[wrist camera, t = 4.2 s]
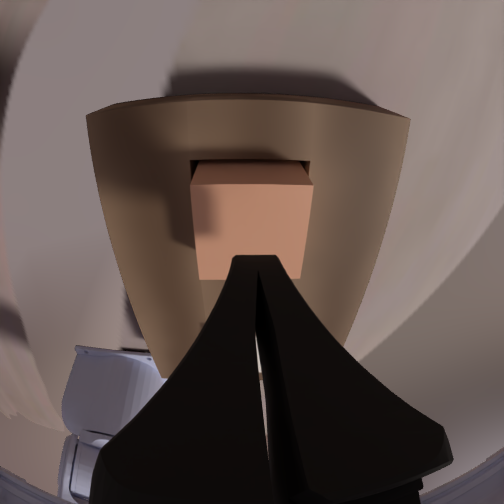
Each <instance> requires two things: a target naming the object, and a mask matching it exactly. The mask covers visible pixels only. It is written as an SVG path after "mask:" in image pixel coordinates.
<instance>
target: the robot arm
mask: <svg viewBox="0 0 504 504" xmlns="http://www.w3.org/2000/svg"><path fill="white" fill-rule="evenodd" d="M255 333H256V336H255ZM256 340H257V346H258V353H259V359H260V365H261V371H262V378H263V384H264V391H265V399H266V415H267V433H268V452H267V445H266V436H265V427H264V418H263V409H262V400H261V390H260V380H259V370H258V359H257V348H256ZM75 351H76V352H77V356H76V359H75V362H74V364H73V367H72V370H71V373H70V376H69V379H68V382H67V385H66V389H65V392H64V395H63V399H62V418H63V421H64V424H65V426H66V427H67V429H68V430H69V431H70V432H71V433H72V434H71V435H69V436H67V437H66V439H65V442H64V446H63V451H62V456H61V461H60V466H59V474H58V485H59V487H58V496H55V495H52V494H50V493H48V492H45V491H43V490H41V489H39V488H37V487H35V486H33V485H31V484H29V483H27V482H26V480H25V479H23V478H21V477H19V476H17V475H15V474H14V473H12V472H10V471H8V470H6V469H5V468H3V467H1V466H0V504H504V447H503V448H502V449H500V450H499V451H497V452H496V453H494V454H493V455H491V456H490V457H488V458H487V459H486V461H485V462H483V463H481V464H480V465H478V466H477V467H475V468H473V469H471V470H470V471H468V472H466V473H464V474H463V475H461V476H459V477H457V478H455V479H453V480H451V481H450V482H448V483H445V484H443V485H441V486H439V487H437V488H435V489H433V490H431V491H429V492H426V493H424V494H422V495H419V492H418V491H419V490H421V489H423V482H422V477H424V476H427V475H429V474H431V473H433V472H436V471H438V470H440V469H442V468H444V467H446V466H448V465H450V464H451V463H452V462H453V455H452V451H451V448H450V444H449V441H448V438H447V435H446V433H445V430H444V428H443V426H441V425H440V424H438V423H437V422H435V421H433V420H432V419H430V418H428V417H427V416H425V415H424V414H422V413H421V412H419V411H418V410H416V409H414V408H413V407H411V406H410V405H409V404H407V403H406V402H404V401H403V400H402V399H401V398H399V397H398V396H397V395H395V394H394V393H393V392H391V391H390V390H389V389H388V388H387V387H386V386H384V385H383V384H382V383H381V382H380V381H378V380H377V379H376V378H375V377H374V376H373V375H372V374H370V373H369V372H368V371H367V370H366V369H365V368H363V366H361V365H360V364H359V363H358V362H357V361H356V360H355V359H354V358H353V357H352V356H351V355H350V354H349V353H348V352H347V351H346V350H345V348H344V347H343V346H342V345H341V344H340V343H339V342H338V341H337V340H336V339H335V338H334V336H333V335H332V334H331V333H330V332H329V331H328V329H327V328H326V327H325V326H324V325H323V323H322V322H321V321H320V320H319V318H318V317H317V316H316V315H315V313H314V312H313V311H312V309H311V308H310V307H309V305H308V304H307V302H306V301H305V300H304V298H303V297H302V295H301V294H300V292H299V291H298V290H297V288H296V286H295V285H294V283H293V282H292V280H291V279H290V277H289V275H288V274H287V272H286V270H285V269H284V267H283V265H282V263H281V261H280V259H279V258H278V257H277V256H276V255H235V256H234V257H233V258H232V261H231V266H230V269H229V273H228V275H227V278H226V281H225V283H224V286H223V288H222V290H221V293H220V295H219V297H218V299H217V301H216V304H215V306H214V308H213V309H212V311H211V313H210V315H209V317H208V319H207V320H206V322H205V324H204V326H203V328H202V329H201V331H200V333H199V334H198V336H197V338H196V339H195V341H194V343H193V344H192V346H191V347H190V349H189V350H188V352H187V353H186V355H185V356H184V357H183V359H182V360H181V362H180V363H179V364H178V366H177V367H176V368H175V370H174V371H173V372H172V374H171V375H170V376H169V378H168V379H166V378H161V376H160V373H159V371H158V369H157V367H156V365H155V362H154V360H153V358H152V356H151V353H142V352H130V351H120V350H110V349H101V348H93V347H86V346H79V345H76V346H75ZM78 436H80V437H79V439H77V438H78ZM268 453H269V454H268ZM268 455H269V460H268ZM84 498H85V499H84ZM87 499H88V500H87Z"/></svg>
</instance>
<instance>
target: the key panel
mask: <svg viewBox="0 0 504 504" xmlns="http://www.w3.org/2000/svg"><path fill="white" fill-rule="evenodd" d="M86 120H87V128H88V136H89V143H90V149H91V155H92V161H93V167H94V172H95V177H96V182H97V187H98V192H99V196H100V201H101V205H102V209H103V213H104V217H105V221H106V225H107V229H108V233H109V236H110V240H111V244H112V247H113V250H114V254H115V257H116V260H117V264H118V267H119V270H120V274H121V277H122V280H123V283H124V286H125V289H126V292H127V294H128V297H129V300H130V303H131V306H132V308H133V311H134V314H135V316H136V319H137V322H138V324H139V327H140V329H141V332H142V334H143V337H144V339H145V342H146V344H147V346H148V349H149V351H150V353H151V356H152V358H153V360H154V362H155V365H156V367H157V369H158V371H159V373H160V376H161V378H166V379H168V378H169V376H170V375H171V374H172V372H173V371H174V370H175V368H176V367H177V366H178V364H179V363H180V362H181V360H182V359H183V357H184V356H185V355H186V353H187V352H188V350H189V349H190V347H191V346H192V344H193V343H194V341H195V339H196V338H197V336H198V334H199V333H200V331H201V329H202V328H203V326H204V324H205V322H206V320H207V319H208V317H209V315H210V313H211V311H212V309H213V308H214V306H215V304H216V301H217V299H218V297H219V295H220V293H221V290H222V288H223V286H224V283H225V281H226V280H199V272H198V263H197V255H196V246H195V236H194V226H193V216H192V205H191V193H190V184H191V181H192V178H193V176H194V173H195V171H196V168H197V166H198V163H199V160H205V159H279V160H299V162H300V163H301V165H302V167H303V168H304V170H305V172H306V173H307V175H308V177H309V178H310V180H311V182H312V183H313V185H314V187H313V195H312V203H311V210H310V218H309V225H308V231H307V238H306V245H305V251H304V258H303V264H302V270H301V276H300V279H291V280H292V282H293V283H294V285H295V286H296V288H297V290H298V291H299V292H300V294H301V295H302V297H303V298H304V300H305V301H306V302H307V304H308V305H309V307H310V308H311V309H312V311H313V312H314V313H315V315H316V316H317V317H318V318H319V320H320V321H321V322H322V323H323V325H324V326H325V327H326V328H327V329H328V331H329V332H330V333H331V334H332V335H333V336H334V338H335V339H336V340H337V341H338V342H339V343H340V344H341V345H342V346H344V343H345V341H346V339H347V336H348V334H349V332H350V329H351V327H352V324H353V322H354V320H355V317H356V315H357V312H358V309H359V307H360V304H361V302H362V299H363V296H364V294H365V291H366V288H367V285H368V283H369V280H370V277H371V274H372V271H373V268H374V265H375V262H376V259H377V256H378V253H379V250H380V247H381V244H382V240H383V237H384V234H385V230H386V227H387V223H388V220H389V216H390V213H391V209H392V205H393V201H394V197H395V193H396V189H397V185H398V181H399V177H400V172H401V168H402V163H403V158H404V153H405V148H406V143H407V137H408V132H409V126H410V120H411V119H409V118H407V117H404V116H402V115H400V114H397V113H395V112H392V111H389V110H387V109H384V108H381V107H379V106H374V105H368V104H362V103H356V102H350V101H343V100H336V99H328V98H319V97H310V96H298V95H284V94H262V93H216V94H194V95H180V96H168V97H159V98H150V99H143V100H135V101H128V102H123V103H116V104H113V105H110V106H108V107H105V108H102V109H100V110H98V111H95V112H92V113H90V114H88V115H86ZM259 380H263V378H262V372H261V373H259Z"/></svg>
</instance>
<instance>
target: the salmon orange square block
mask: <svg viewBox="0 0 504 504" xmlns="http://www.w3.org/2000/svg"><path fill="white" fill-rule="evenodd" d="M313 187H314V185H313V183H312V182H311V180H310V178H309V177H308V175H307V173H306V172H305V170H304V168H303V167H302V165H301V163H300V162H299V160H279V159H205V160H199V163H198V166H197V168H196V171H195V173H194V176H193V178H192V181H191V184H190V193H191V205H192V216H193V226H194V236H195V246H196V255H197V263H198V272H199V280H226V278H227V275H228V273H229V269H230V266H231V261H232V258H233V257H234V256H235V255H276V256H277V257H278V258H279V259H280V261H281V263H282V265H283V267H284V269H285V270H286V272H287V274H288V275H289V277H290V279H300V276H301V270H302V264H303V258H304V251H305V245H306V238H307V231H308V225H309V218H310V210H311V203H312V195H313Z"/></svg>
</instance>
